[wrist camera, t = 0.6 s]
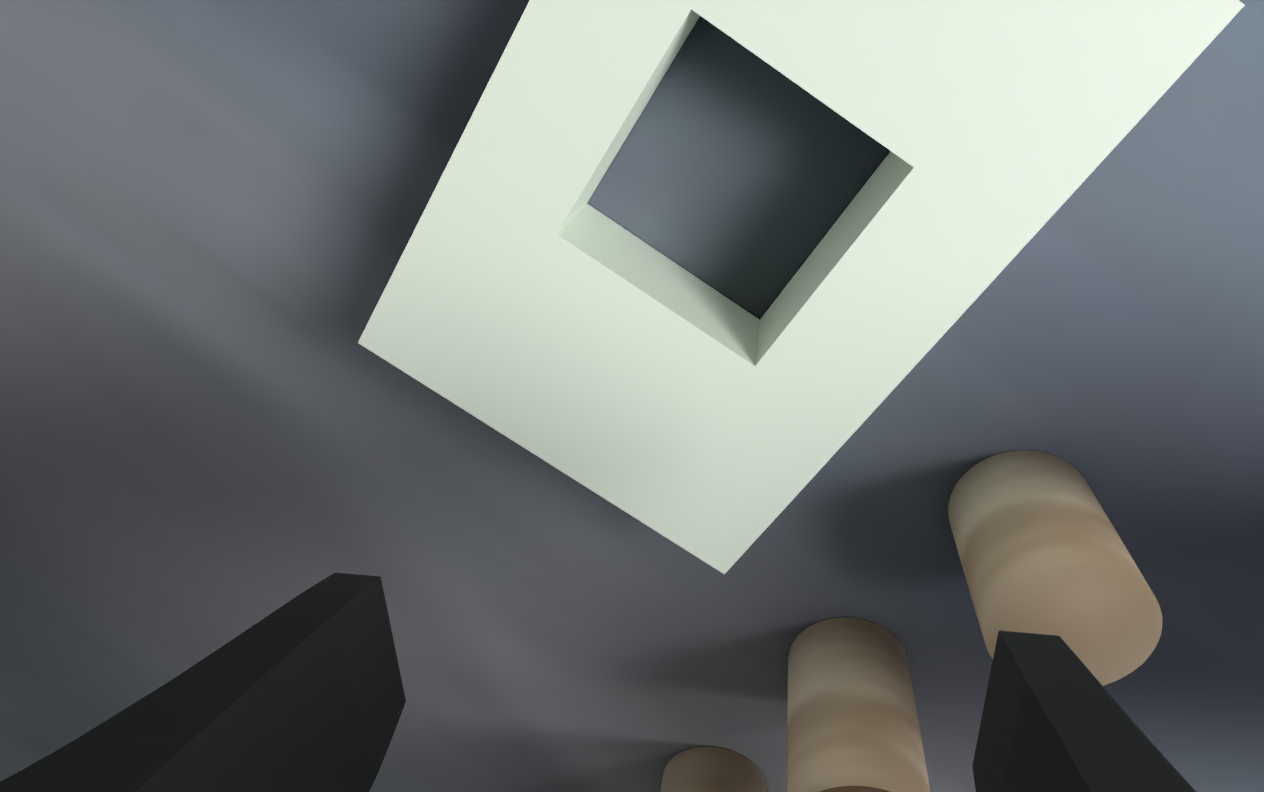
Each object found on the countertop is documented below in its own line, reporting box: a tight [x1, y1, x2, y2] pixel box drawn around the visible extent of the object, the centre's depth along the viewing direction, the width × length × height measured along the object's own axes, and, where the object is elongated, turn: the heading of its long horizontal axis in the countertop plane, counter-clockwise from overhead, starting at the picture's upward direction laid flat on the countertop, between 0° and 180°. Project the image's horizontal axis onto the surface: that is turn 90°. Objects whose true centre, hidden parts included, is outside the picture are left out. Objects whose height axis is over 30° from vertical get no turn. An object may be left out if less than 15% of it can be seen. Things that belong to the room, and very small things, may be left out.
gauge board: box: [358, 0, 1244, 574], centre depth 16 cm, size 9×13×2 cm
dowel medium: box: [787, 617, 931, 792], centre depth 19 cm, size 3×3×6 cm
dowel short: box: [948, 450, 1163, 686], centre depth 17 cm, size 3×3×4 cm
